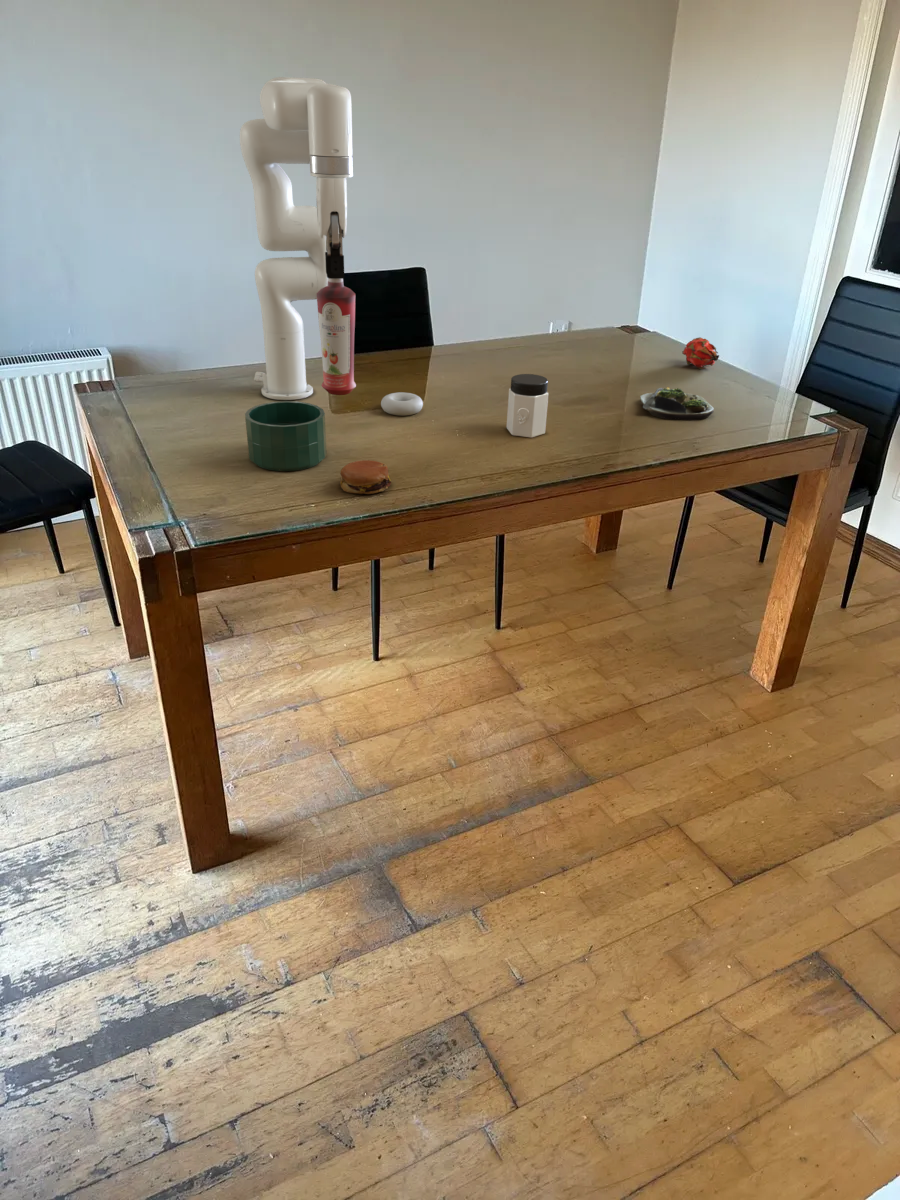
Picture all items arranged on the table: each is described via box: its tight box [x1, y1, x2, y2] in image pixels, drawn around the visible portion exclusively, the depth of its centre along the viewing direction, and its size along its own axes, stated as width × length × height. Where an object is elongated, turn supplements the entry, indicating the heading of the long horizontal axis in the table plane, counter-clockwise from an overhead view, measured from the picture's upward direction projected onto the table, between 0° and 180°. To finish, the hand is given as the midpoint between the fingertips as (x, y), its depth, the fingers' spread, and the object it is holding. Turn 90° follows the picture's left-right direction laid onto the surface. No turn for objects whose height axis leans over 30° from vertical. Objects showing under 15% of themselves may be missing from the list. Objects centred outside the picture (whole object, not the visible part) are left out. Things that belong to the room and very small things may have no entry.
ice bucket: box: [244, 400, 327, 472], centre depth 177 cm, size 16×16×10 cm
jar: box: [506, 373, 549, 439], centre depth 194 cm, size 9×8×12 cm
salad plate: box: [640, 386, 715, 421], centre depth 215 cm, size 19×18×5 cm
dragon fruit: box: [681, 336, 720, 370], centre depth 248 cm, size 8×8×12 cm
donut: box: [380, 391, 424, 417], centre depth 207 cm, size 10×4×10 cm
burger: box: [339, 459, 392, 495], centre depth 166 cm, size 10×9×5 cm
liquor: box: [316, 241, 357, 396], centre depth 167 cm, size 7×7×28 cm
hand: (335, 275), depth 163 cm, fingers closed on liquor, 2 cm apart
